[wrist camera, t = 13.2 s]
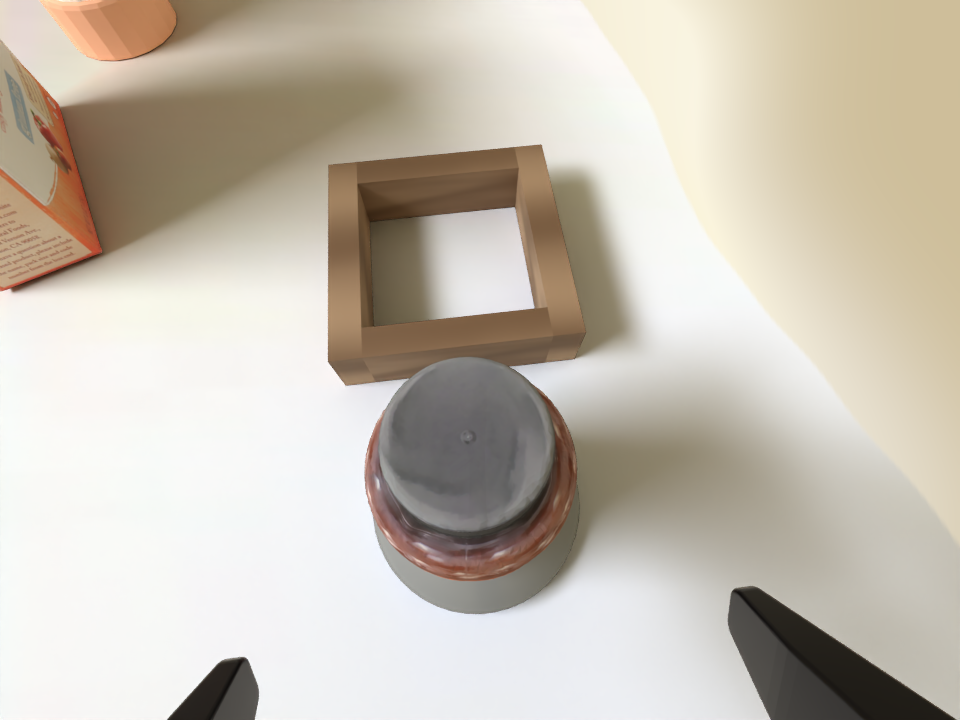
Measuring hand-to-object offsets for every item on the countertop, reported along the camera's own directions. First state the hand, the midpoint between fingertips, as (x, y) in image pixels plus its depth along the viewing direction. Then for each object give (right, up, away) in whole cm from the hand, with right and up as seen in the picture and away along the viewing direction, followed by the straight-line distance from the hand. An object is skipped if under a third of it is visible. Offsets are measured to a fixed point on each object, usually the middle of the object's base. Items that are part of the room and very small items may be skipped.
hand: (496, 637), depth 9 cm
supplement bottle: (-1, -1, +12) cm, 12 cm away
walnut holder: (-2, +10, +18) cm, 20 cm away
